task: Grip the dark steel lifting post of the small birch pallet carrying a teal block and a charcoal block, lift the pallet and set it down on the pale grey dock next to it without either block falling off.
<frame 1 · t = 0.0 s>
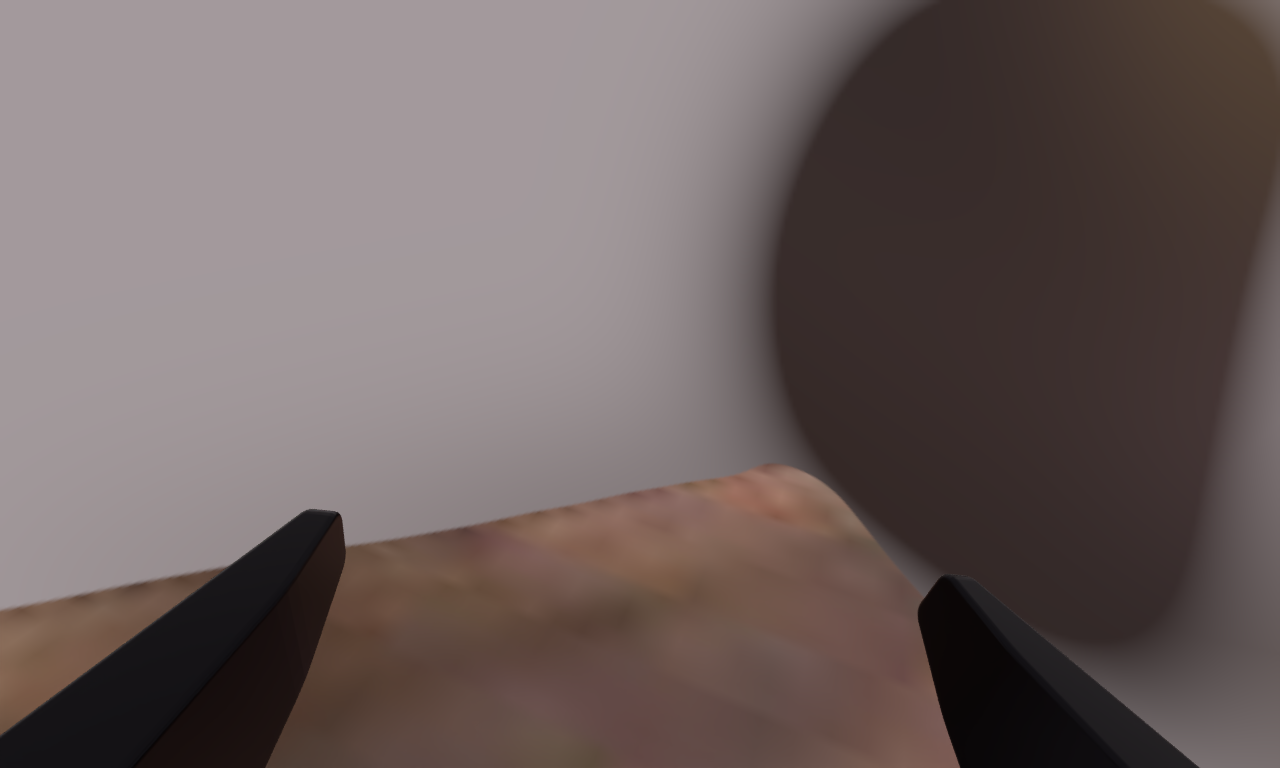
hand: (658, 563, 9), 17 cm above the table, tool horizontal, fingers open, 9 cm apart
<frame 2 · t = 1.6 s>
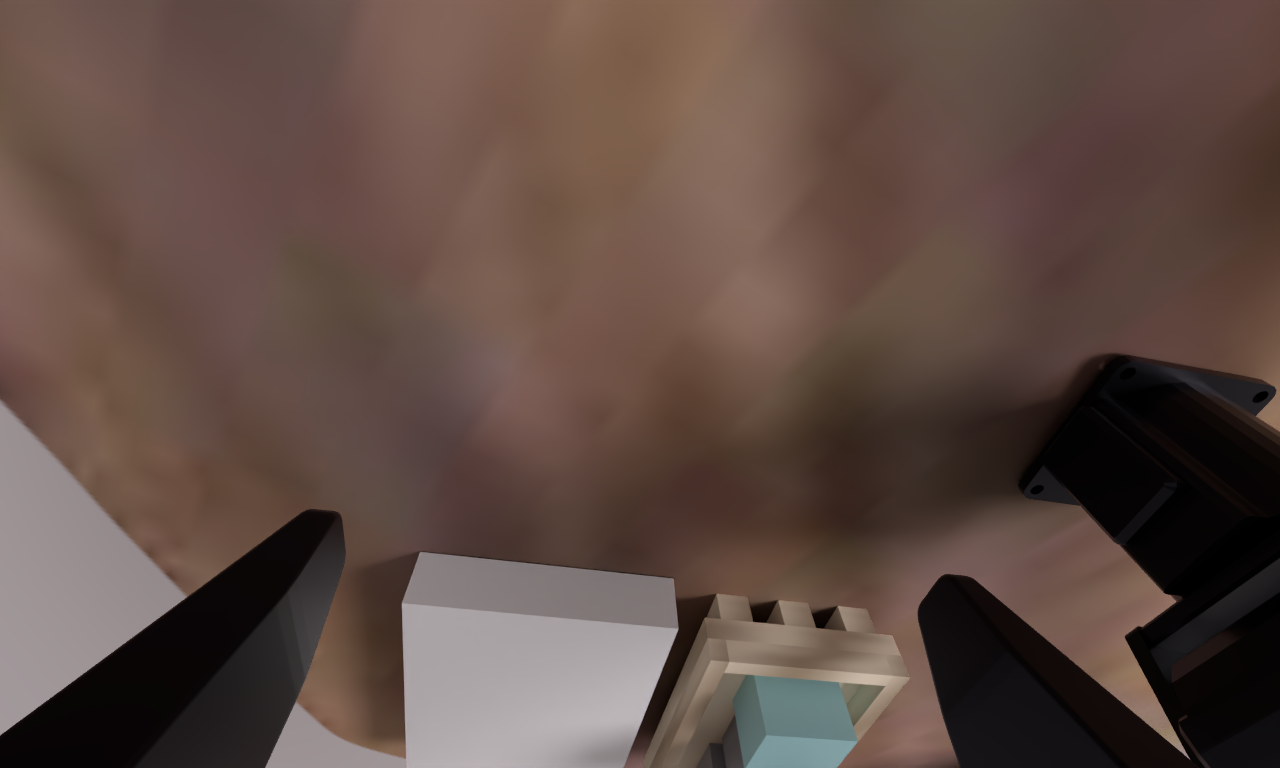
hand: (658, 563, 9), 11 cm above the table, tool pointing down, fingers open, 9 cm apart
charcoal block: (738, 759, 31), point 2 cm above the table, touching pallet
dock: (532, 663, 29), on the table
pallet: (749, 676, 31), on the table, touching charcoal block
teal block: (782, 686, 27), point 2 cm above the table
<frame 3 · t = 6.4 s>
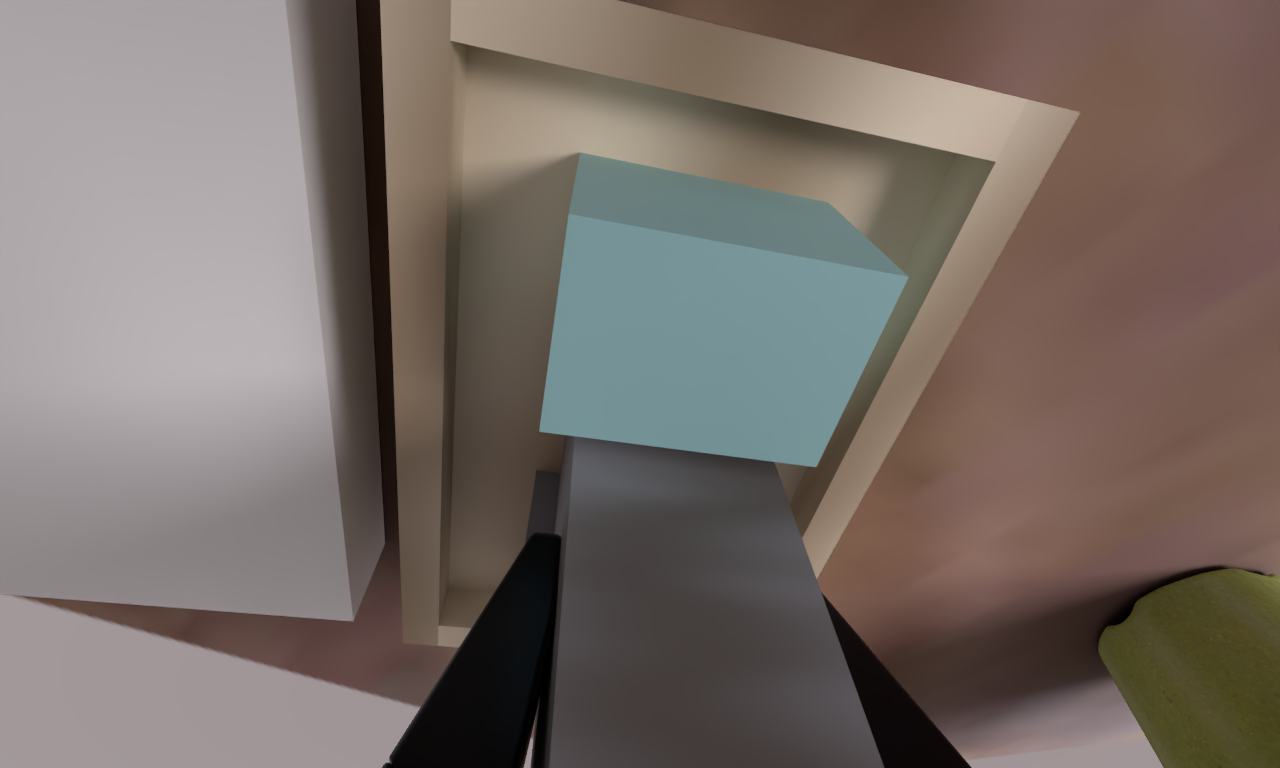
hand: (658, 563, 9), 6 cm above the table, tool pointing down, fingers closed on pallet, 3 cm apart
plant pot: (1179, 614, 21), on the table
charcoal block: (617, 529, 13), point 2 cm above the table, touching pallet
dock: (91, 270, 12), on the table
pallet: (640, 353, 14), on the table, touching charcoal block, gripper, teal block
teal block: (684, 267, 10), point 2 cm above the table, touching pallet
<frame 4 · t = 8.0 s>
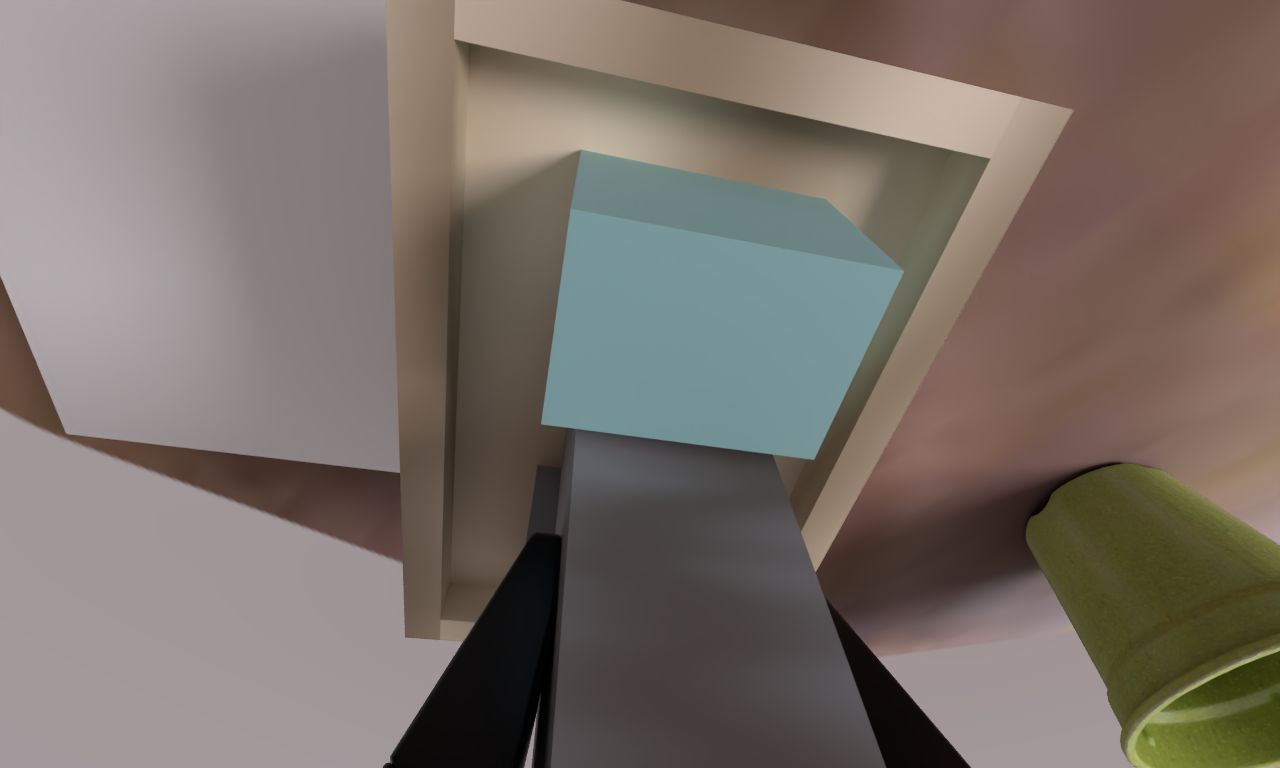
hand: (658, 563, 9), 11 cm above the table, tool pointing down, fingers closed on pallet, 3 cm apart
plant pot: (1091, 509, 26), on the table
charcoal block: (617, 524, 13), point 8 cm above the table, touching pallet
dock: (266, 201, 17), on the table
pallet: (640, 350, 14), point 5 cm above the table, touching charcoal block, gripper, teal block
teal block: (684, 263, 10), point 8 cm above the table, touching pallet
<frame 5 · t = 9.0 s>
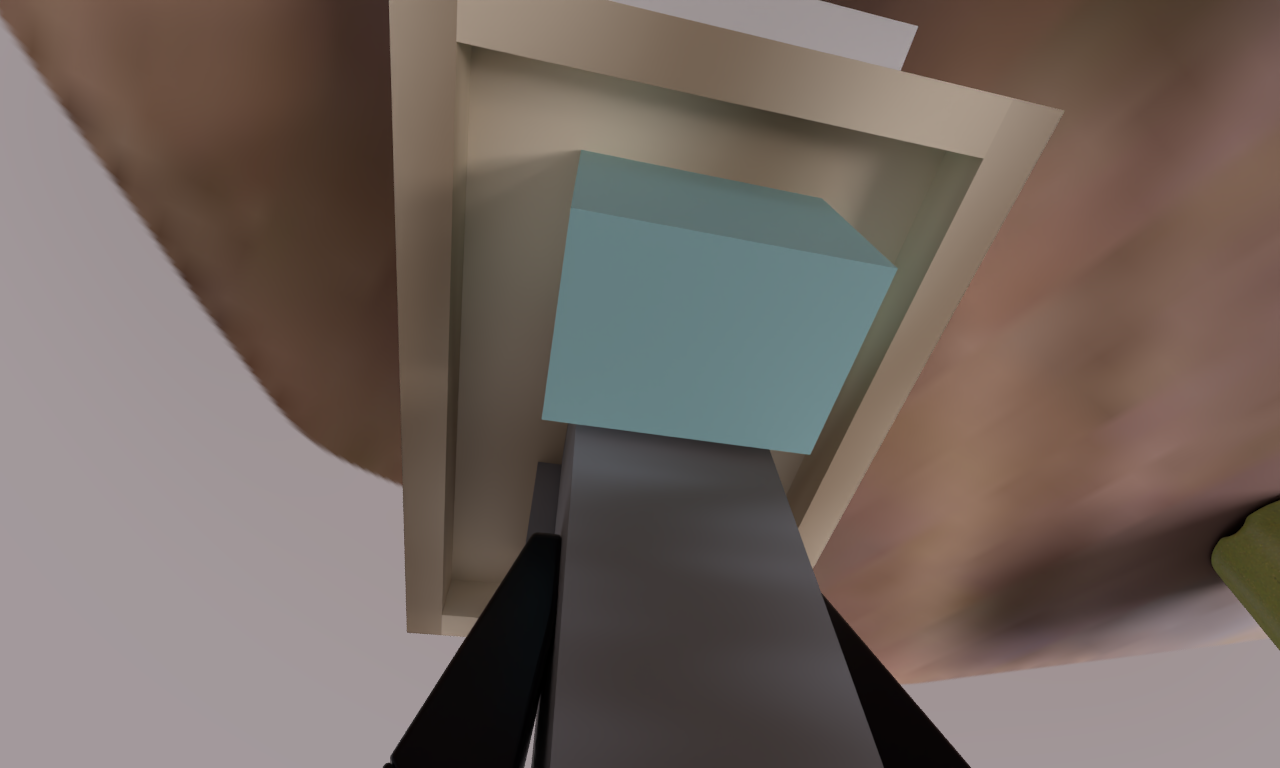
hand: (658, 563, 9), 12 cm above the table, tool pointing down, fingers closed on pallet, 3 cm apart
plant pot: (1275, 531, 27), on the table
charcoal block: (617, 520, 13), point 8 cm above the table, touching pallet
dock: (611, 257, 18), on the table
pallet: (639, 348, 14), point 5 cm above the table, touching charcoal block, gripper, teal block
teal block: (683, 262, 10), point 8 cm above the table, touching pallet
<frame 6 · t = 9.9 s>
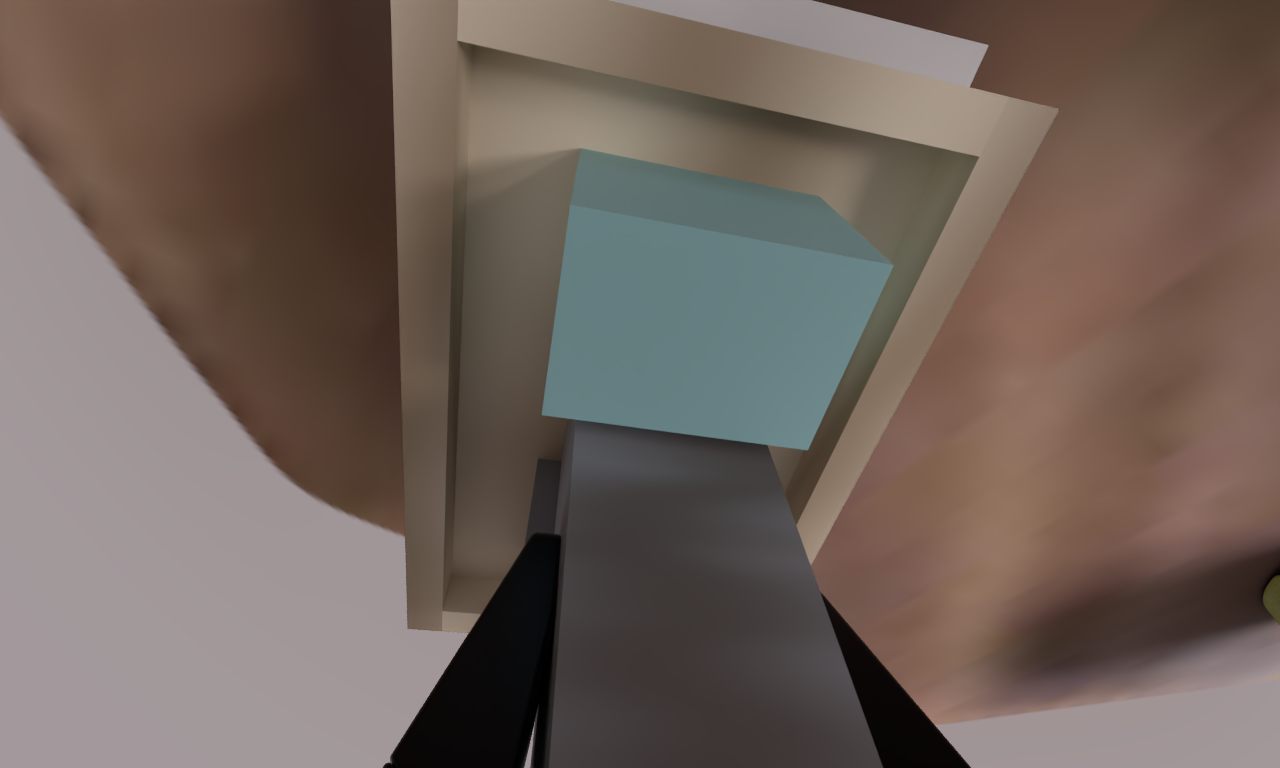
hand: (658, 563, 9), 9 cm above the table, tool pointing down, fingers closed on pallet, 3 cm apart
charcoal block: (616, 516, 14), point 5 cm above the table, touching pallet
dock: (630, 295, 16), on the table
pallet: (639, 346, 14), point 3 cm above the table, touching charcoal block, gripper, teal block
teal block: (681, 260, 10), point 5 cm above the table, touching pallet
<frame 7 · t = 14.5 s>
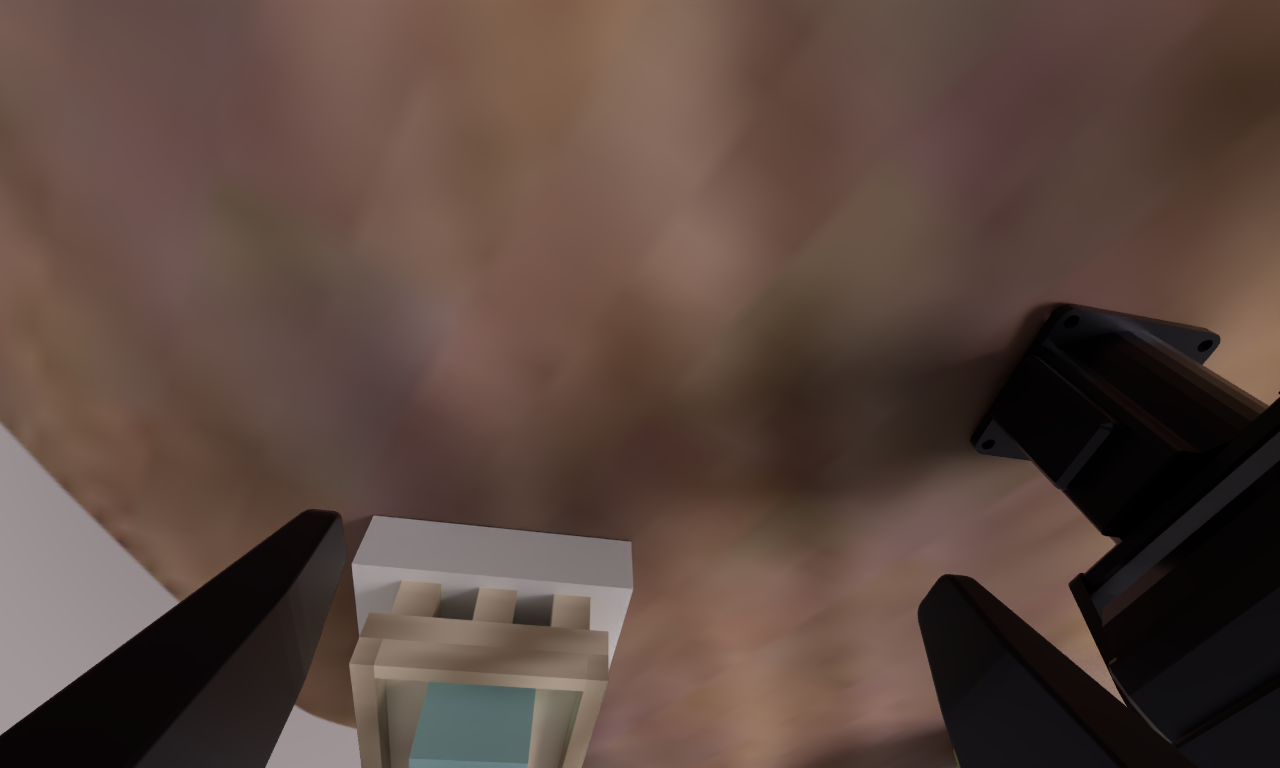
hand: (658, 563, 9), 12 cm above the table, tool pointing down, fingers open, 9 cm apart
dock: (495, 631, 29), on the table
pallet: (488, 679, 27), point 2 cm above the table, touching charcoal block, dock, teal block
teal block: (482, 696, 23), point 5 cm above the table, touching pallet
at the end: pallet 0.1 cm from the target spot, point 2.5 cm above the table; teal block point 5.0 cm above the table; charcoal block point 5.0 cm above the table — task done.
